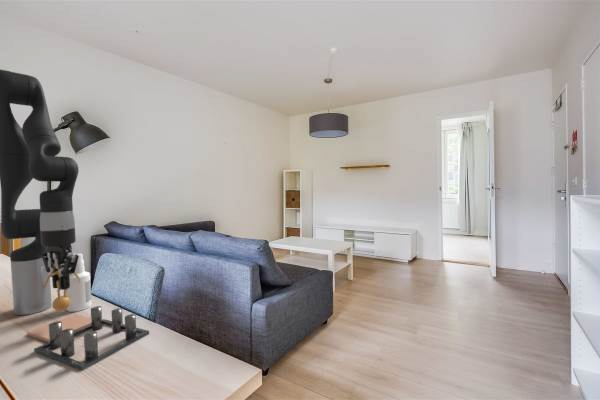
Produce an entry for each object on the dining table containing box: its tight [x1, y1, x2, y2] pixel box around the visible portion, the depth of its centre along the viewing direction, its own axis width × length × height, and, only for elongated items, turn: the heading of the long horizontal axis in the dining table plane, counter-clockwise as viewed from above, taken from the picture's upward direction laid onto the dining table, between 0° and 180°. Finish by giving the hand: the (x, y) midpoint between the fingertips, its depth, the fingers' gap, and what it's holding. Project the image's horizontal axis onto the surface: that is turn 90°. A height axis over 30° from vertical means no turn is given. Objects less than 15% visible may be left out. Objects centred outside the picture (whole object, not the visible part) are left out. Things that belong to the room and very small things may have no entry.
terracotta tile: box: [27, 313, 91, 343], centre depth 84 cm, size 11×12×1 cm
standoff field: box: [33, 305, 150, 371], centre depth 76 cm, size 19×17×6 cm
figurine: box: [44, 268, 80, 312], centre depth 83 cm, size 8×6×12 cm
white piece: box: [65, 253, 92, 313], centre depth 97 cm, size 7×7×18 cm
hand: (61, 287), depth 83 cm, fingers closed on figurine, 2 cm apart
